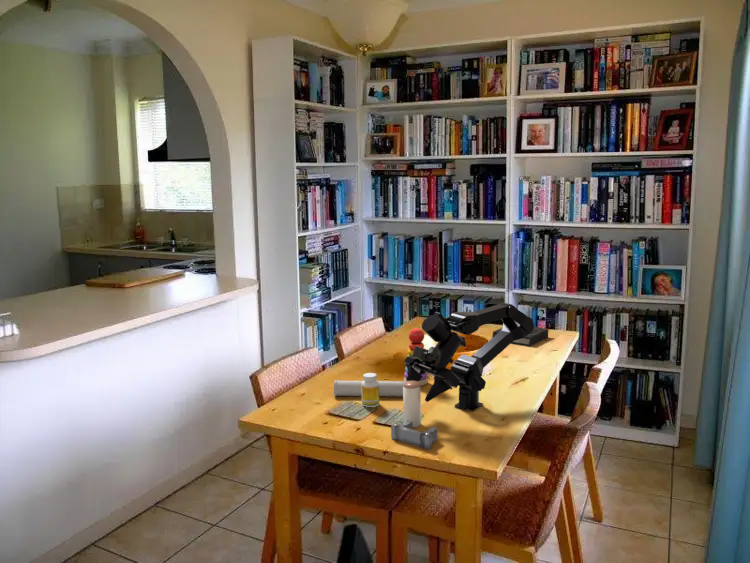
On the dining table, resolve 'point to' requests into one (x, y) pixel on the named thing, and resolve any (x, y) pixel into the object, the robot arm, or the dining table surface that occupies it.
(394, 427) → the bracket
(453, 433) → the dining table surface
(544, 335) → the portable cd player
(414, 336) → the stacking toy
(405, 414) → the mushroom
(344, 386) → the tube
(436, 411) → the dining table surface
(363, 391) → the supplement bottle
